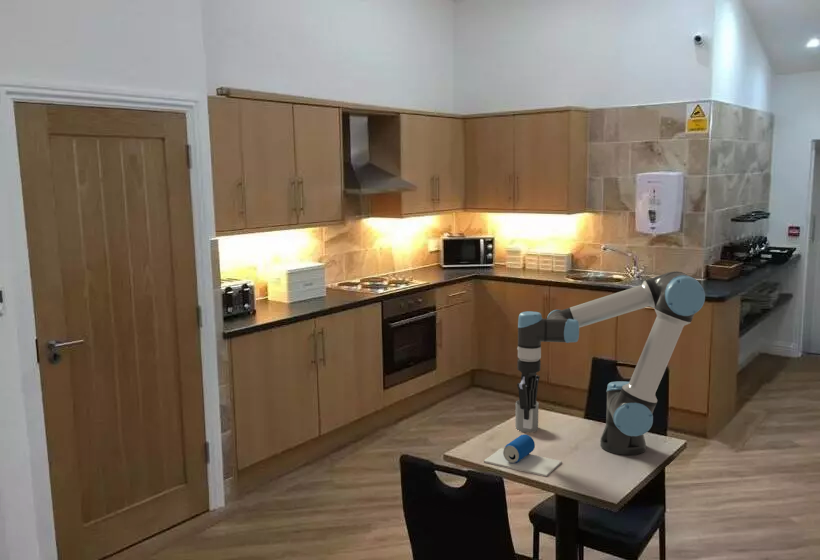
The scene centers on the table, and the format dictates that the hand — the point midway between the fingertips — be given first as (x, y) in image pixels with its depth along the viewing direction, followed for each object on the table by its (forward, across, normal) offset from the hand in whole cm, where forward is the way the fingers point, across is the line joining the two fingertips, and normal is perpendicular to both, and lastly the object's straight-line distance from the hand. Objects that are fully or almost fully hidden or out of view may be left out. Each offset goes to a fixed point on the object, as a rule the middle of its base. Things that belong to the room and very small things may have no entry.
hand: (527, 427), depth 238 cm
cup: (+11, -26, -12) cm, 31 cm away
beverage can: (+7, -4, -2) cm, 8 cm away
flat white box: (+11, +4, 0) cm, 11 cm away
